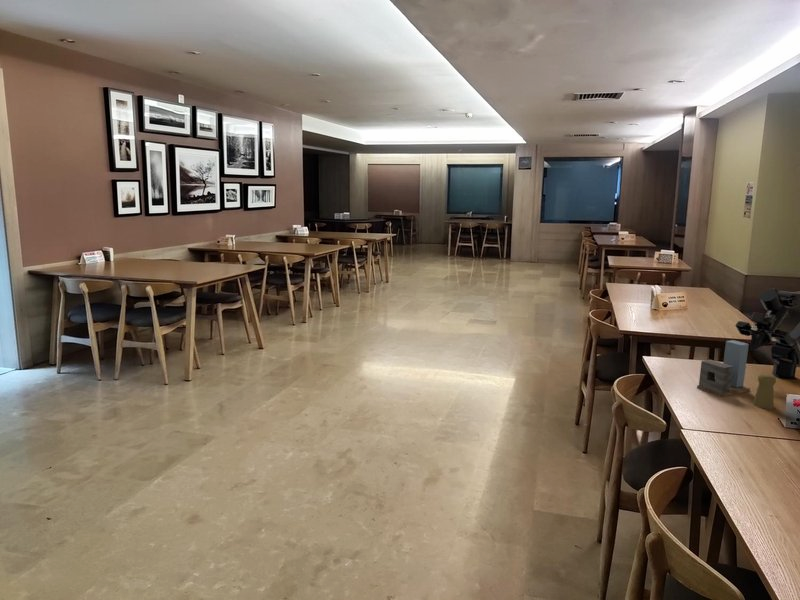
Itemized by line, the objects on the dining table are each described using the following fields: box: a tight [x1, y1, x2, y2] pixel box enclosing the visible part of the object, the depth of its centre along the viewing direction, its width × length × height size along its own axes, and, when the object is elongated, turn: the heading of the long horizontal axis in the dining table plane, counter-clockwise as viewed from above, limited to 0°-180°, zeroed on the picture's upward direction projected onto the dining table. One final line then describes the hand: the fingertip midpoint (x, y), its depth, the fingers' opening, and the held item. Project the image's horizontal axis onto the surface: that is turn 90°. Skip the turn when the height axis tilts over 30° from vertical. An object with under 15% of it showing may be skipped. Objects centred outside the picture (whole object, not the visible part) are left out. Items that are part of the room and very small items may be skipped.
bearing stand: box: [696, 359, 751, 398], centre depth 209 cm, size 16×10×11 cm, turn 116°
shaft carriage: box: [714, 339, 750, 388], centre depth 209 cm, size 11×6×16 cm, turn 116°
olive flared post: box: [752, 373, 777, 410], centre depth 194 cm, size 6×6×11 cm
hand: (750, 349), depth 214 cm, fingers closed
